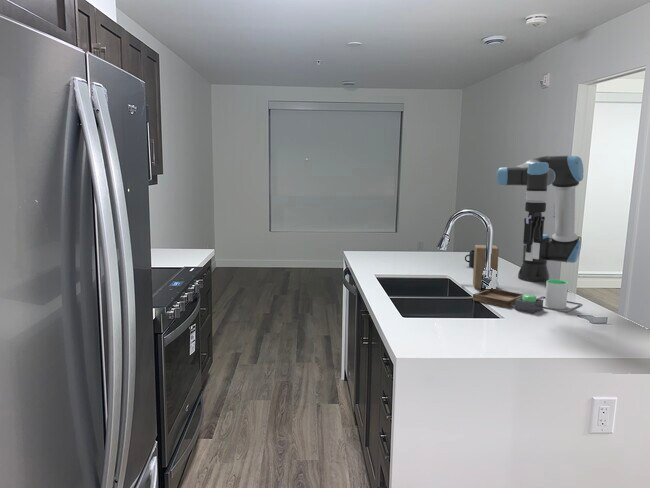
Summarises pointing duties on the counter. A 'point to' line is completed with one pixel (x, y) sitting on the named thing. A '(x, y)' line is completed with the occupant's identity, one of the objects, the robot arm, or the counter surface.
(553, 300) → the mug
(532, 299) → the button
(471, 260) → the mug
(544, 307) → the tote frame
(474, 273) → the wooden block
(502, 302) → the wooden tray
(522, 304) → the control box
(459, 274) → the counter surface
